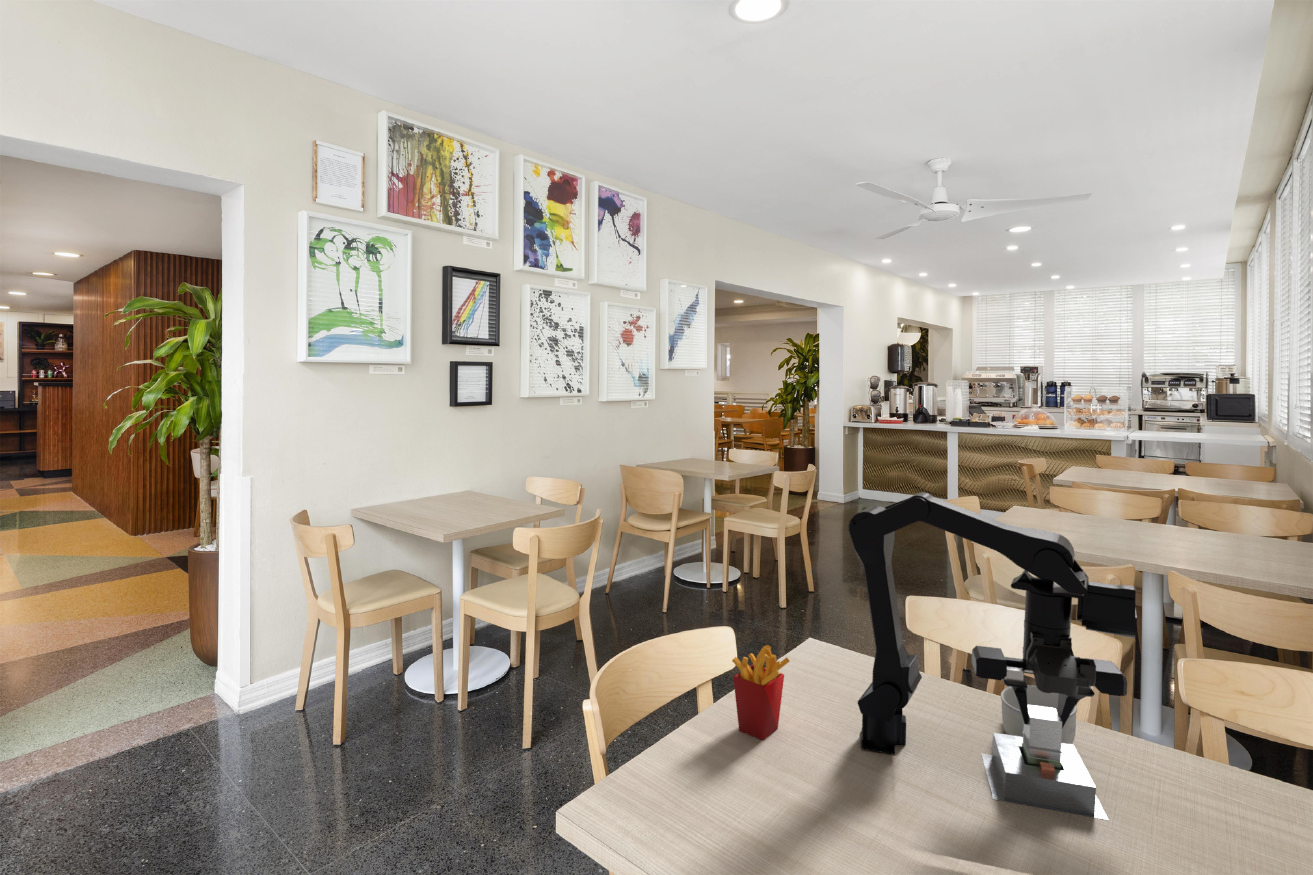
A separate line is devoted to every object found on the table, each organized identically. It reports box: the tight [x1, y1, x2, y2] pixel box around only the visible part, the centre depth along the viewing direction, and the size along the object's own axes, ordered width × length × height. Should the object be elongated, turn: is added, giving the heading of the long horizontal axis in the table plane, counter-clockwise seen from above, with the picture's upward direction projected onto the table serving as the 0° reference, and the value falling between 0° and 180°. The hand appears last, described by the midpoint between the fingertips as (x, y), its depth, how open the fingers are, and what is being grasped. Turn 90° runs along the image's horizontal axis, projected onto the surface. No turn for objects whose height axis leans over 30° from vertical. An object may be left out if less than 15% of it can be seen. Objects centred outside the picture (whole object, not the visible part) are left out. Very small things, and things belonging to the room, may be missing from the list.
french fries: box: [731, 644, 790, 741], centre depth 112 cm, size 9×8×15 cm
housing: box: [980, 732, 1109, 821], centre depth 96 cm, size 14×12×6 cm
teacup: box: [1000, 684, 1078, 745], centre depth 109 cm, size 14×11×8 cm
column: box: [1022, 705, 1062, 769], centre depth 95 cm, size 4×4×7 cm
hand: (1042, 725), depth 95 cm, fingers closed on column, 4 cm apart
